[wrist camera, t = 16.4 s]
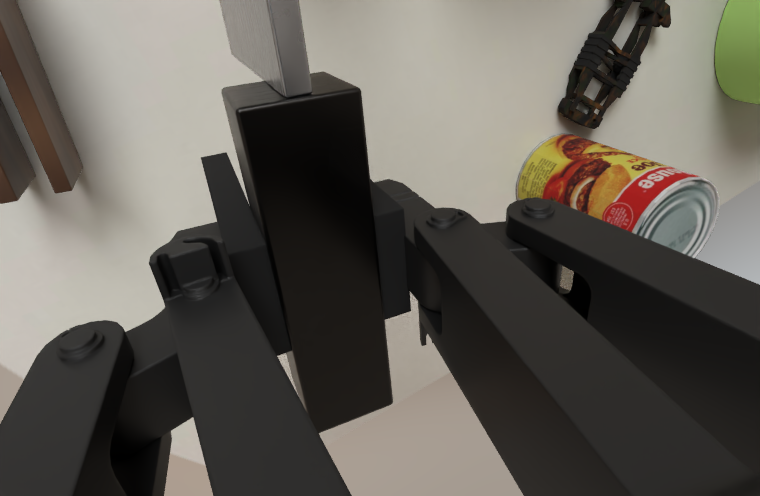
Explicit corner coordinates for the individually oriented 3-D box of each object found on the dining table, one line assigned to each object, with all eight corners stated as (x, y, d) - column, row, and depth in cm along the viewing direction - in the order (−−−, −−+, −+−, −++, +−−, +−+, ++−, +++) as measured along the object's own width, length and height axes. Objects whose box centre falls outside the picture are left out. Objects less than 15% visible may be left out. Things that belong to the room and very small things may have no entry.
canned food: (604, 151, 42) (737, 197, 32) (559, 229, 44) (671, 294, 34) (546, 119, 38) (679, 160, 28) (500, 205, 40) (608, 272, 31)
